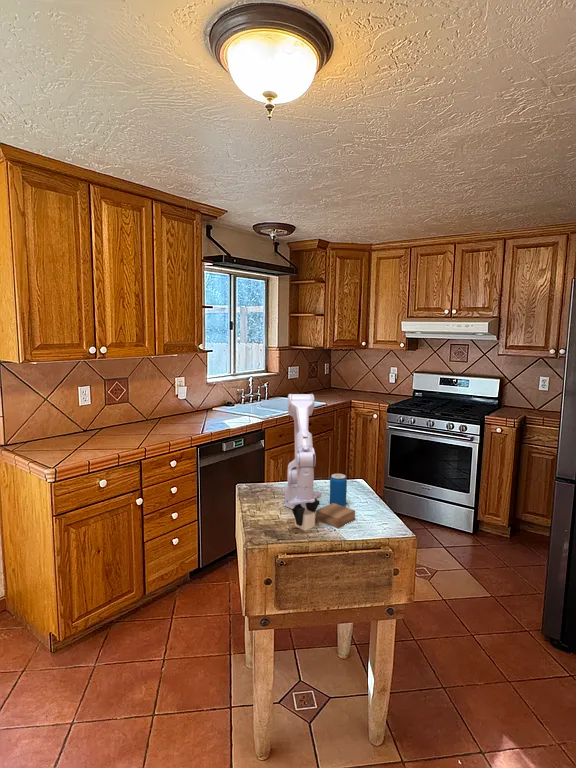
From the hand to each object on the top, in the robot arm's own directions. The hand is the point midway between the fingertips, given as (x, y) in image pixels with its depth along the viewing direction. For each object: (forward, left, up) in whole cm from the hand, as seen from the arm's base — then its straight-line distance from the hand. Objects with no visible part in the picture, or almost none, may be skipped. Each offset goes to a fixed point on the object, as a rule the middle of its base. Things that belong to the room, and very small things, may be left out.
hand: (304, 522), depth 158 cm
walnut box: (+4, +12, -2) cm, 13 cm away
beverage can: (-4, +23, -2) cm, 23 cm away
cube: (0, 0, -1) cm, 1 cm away
